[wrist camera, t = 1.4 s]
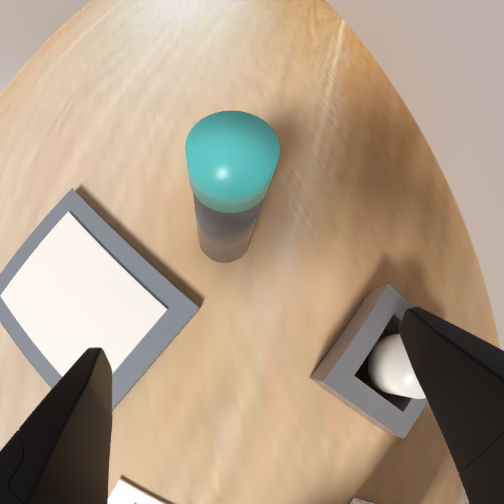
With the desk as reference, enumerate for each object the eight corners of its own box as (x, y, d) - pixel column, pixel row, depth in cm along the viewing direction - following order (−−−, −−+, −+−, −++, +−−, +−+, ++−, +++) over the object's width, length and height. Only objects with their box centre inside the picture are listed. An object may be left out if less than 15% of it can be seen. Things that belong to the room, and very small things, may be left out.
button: (425, 354, 20) (458, 353, 16) (397, 403, 19) (427, 410, 15) (389, 322, 20) (419, 316, 17) (356, 372, 19) (384, 376, 16)
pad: (199, 308, 22) (198, 307, 21) (97, 428, 18) (92, 432, 17) (75, 192, 23) (71, 187, 22) (-11, 298, 20) (-17, 296, 19)
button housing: (434, 348, 23) (457, 346, 20) (384, 430, 20) (404, 439, 17) (369, 291, 23) (388, 283, 20) (309, 377, 21) (322, 381, 18)
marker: (261, 236, 24) (298, 144, 13) (227, 274, 22) (238, 205, 12) (221, 204, 24) (228, 98, 13) (187, 241, 23) (165, 149, 12)
